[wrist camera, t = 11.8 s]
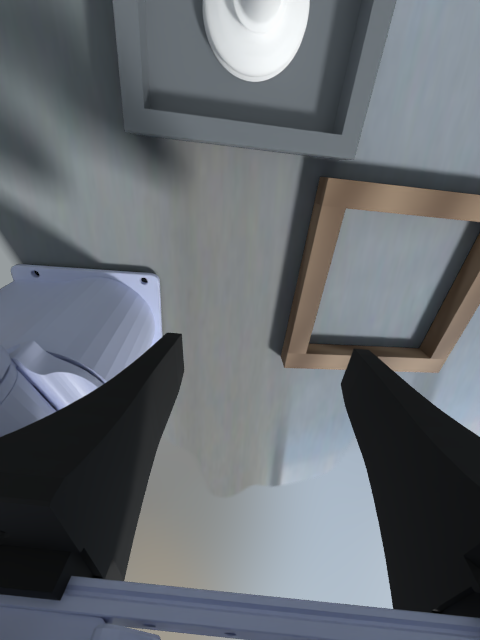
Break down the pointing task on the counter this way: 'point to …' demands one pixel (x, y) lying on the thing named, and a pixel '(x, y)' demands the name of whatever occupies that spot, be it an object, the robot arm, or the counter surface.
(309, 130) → the tray
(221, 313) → the counter surface
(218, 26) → the chess piece
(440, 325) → the brown square frame
